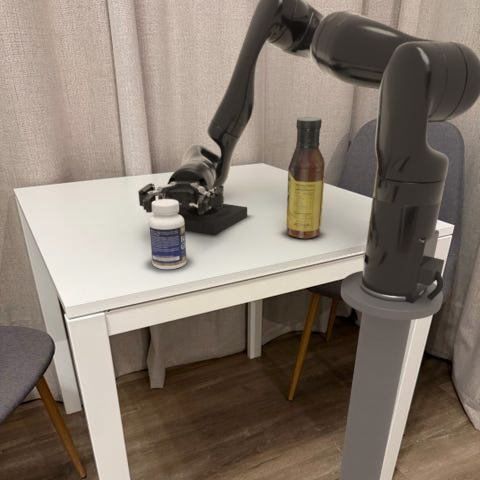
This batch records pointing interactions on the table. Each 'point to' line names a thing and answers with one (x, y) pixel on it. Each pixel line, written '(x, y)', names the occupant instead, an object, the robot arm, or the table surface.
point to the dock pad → (212, 218)
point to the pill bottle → (167, 235)
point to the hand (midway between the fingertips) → (173, 207)
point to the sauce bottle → (305, 181)
